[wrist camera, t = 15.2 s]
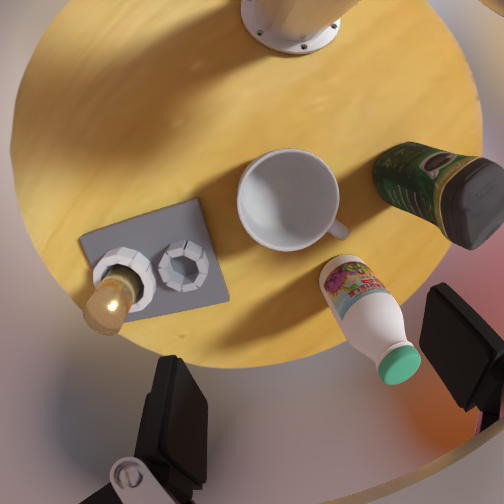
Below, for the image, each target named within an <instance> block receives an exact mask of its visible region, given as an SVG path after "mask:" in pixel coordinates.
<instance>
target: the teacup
mask: <svg viewBox="0 0 504 504" xmlns="http://www.w3.org/2000/svg"><path fill="white" fill-rule="evenodd" d="M338 206H339V188H338V184H337V181H336V178H335V176H334V174H333V172H332V171H331V170H330V168H329V167H328V166H327V164H326V163H325V162H324V161H322V160H321V159H320V158H319V157H317V156H316V155H314V154H312V153H310V152H307V151H304V150H300V149H292V148H289V149H280V150H275V151H270V152H267V153H265V154H262V155H261V156H259V157H257V158H256V159H254V160H253V161H252V162H251V163H250V164H249V165H248V166H247V167H246V169H245V170H244V172H243V174H242V176H241V178H240V181H239V184H238V189H237V210H238V215H239V218H240V221H241V223H242V225H243V227H244V229H245V230H246V232H247V233H248V234H249V235H250V236H251V237H252V238H253V239H254V240H255V241H257V242H258V243H259V244H261V245H262V246H264V247H267V248H270V249H273V250H277V251H287V252H289V251H295V250H300V249H303V248H306V247H308V246H310V245H312V244H313V243H315V242H316V241H317V240H319V239H320V238H321V237H322V236H323V235H324V234H325V233H326V232H329V233H330V234H332V235H333V236H335V237H336V238H338V239H340V240H345V239H346V238H347V237H348V235H349V233H350V230H349V228H347V227H346V226H345V225H344V224H342V223H341V222H339V221H338V220H337V219H335V217H336V214H337V210H338Z"/></svg>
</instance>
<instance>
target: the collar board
mask: <svg viewBox="0 0 504 504" xmlns="http://www.w3.org/2000/svg"><path fill="white" fill-rule="evenodd" d="M79 239H80V241H81V244H82V246H83V248H84V251H85V253H86V255H87V257H88V260H89V262H90V264H91V266H92V268H93V284H94V287H95V289H96V288H97V287H98V286H99V284H100V283H101V282H102V280H103V279H104V278H105V276H106V275H107V274H108V272H109V271H110V270H111V268H112V267H113V266H114V264H117V263H118V264H122V265H125V266H129V267H131V268H132V269H133V270H134V271H135V272H136V273H138V274H139V275H140V277H141V280H142V282H143V285H142V286H141V288H140V290H139V292H138V294H137V296H136V298H135V300H134V302H133V304H132V306H131V308H130V310H129V313H128V315H127V317H126V319H125V321H124V323H125V322H130V321H136V320H141V319H146V318H152V317H157V316H162V315H167V314H172V313H177V312H182V311H186V310H191V309H196V308H201V307H205V306H210V305H214V304H219V303H223V302H228V301H229V293H228V290H227V287H226V284H225V281H224V278H223V275H222V271H221V268H220V265H219V262H218V259H217V256H216V253H215V250H214V246H213V243H212V240H211V237H210V234H209V230H208V227H207V224H206V221H205V217H204V214H203V211H202V208H201V204H200V201H199V198H195V199H191V200H188V201H184V202H181V203H177V204H174V205H170V206H167V207H164V208H160V209H157V210H154V211H151V212H148V213H144V214H141V215H138V216H135V217H132V218H129V219H126V220H123V221H120V222H117V223H114V224H111V225H108V226H105V227H102V228H99V229H96V230H94V231H91V232H88V233H85V234H83V235H82V236H81V237H80V238H79Z"/></svg>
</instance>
